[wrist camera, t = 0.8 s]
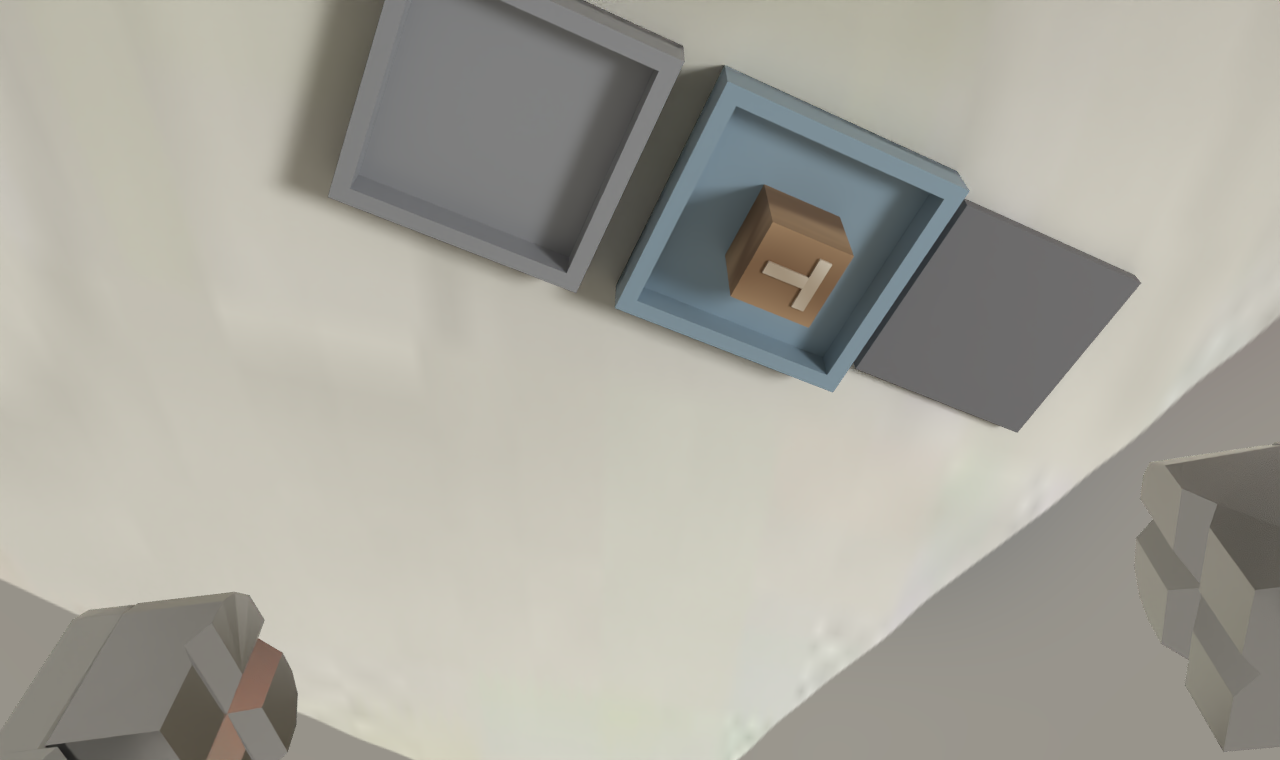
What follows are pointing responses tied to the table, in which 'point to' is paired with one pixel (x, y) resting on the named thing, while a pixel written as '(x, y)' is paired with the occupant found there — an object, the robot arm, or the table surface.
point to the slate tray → (810, 171)
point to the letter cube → (787, 256)
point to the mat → (994, 317)
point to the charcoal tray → (504, 126)
